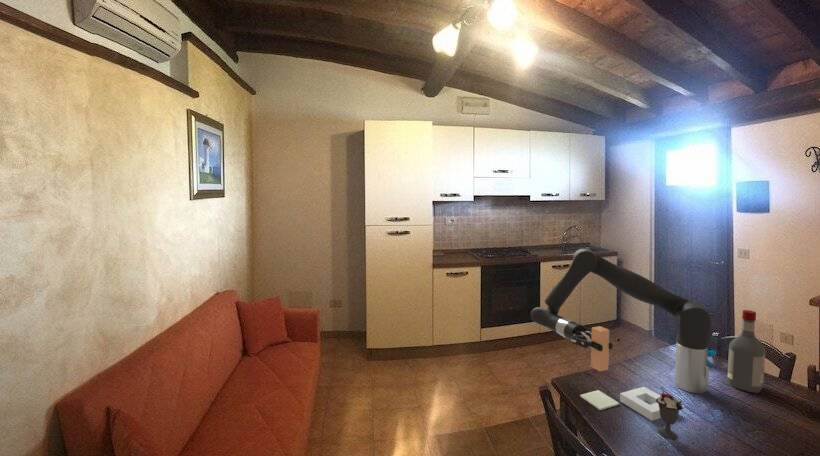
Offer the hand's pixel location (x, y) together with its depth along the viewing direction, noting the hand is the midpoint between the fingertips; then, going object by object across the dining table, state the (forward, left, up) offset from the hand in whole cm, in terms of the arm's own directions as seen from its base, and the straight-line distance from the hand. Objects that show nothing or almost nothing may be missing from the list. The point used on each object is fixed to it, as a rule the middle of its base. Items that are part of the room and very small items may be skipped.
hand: (606, 347), depth 121 cm
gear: (-58, -29, -22) cm, 68 cm away
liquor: (-59, -11, -22) cm, 64 cm away
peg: (+1, -3, -9) cm, 10 cm away
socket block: (-14, +1, -22) cm, 26 cm away
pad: (+1, -3, -22) cm, 22 cm away
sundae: (-11, +15, -22) cm, 29 cm away
